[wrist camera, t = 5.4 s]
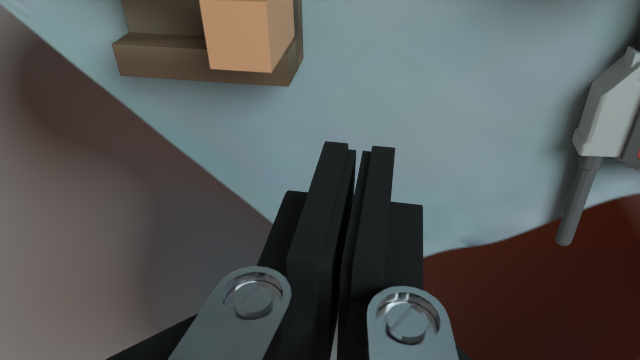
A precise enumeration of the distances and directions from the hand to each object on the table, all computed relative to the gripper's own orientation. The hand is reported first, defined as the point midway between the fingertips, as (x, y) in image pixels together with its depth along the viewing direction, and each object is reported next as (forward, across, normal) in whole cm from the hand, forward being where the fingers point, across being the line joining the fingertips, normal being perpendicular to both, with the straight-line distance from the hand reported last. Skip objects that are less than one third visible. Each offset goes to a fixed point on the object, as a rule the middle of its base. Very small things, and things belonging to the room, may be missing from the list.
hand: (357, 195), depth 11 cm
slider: (+16, +7, 0) cm, 17 cm away
